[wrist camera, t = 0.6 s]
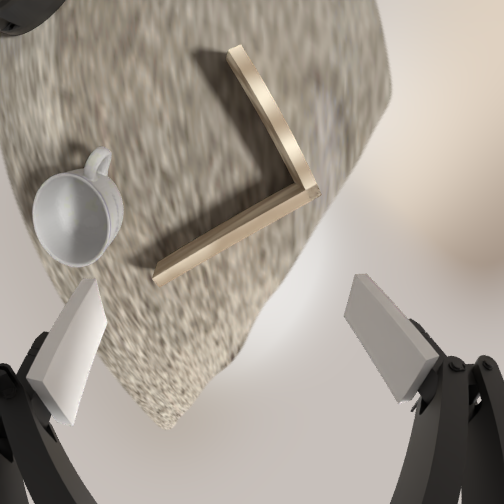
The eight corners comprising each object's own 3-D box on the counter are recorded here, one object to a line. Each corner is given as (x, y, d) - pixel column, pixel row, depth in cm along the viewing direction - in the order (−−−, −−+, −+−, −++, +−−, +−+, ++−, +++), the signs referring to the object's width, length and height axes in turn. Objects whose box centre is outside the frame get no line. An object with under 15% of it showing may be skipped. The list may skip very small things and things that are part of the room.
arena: (83, 153, 29) (67, 157, 25) (236, 54, 27) (240, 44, 23) (163, 270, 38) (159, 287, 34) (309, 187, 36) (321, 195, 32)
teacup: (102, 256, 36) (82, 285, 28) (48, 209, 31) (18, 229, 24) (161, 178, 33) (148, 192, 25) (100, 126, 28) (72, 127, 21)
